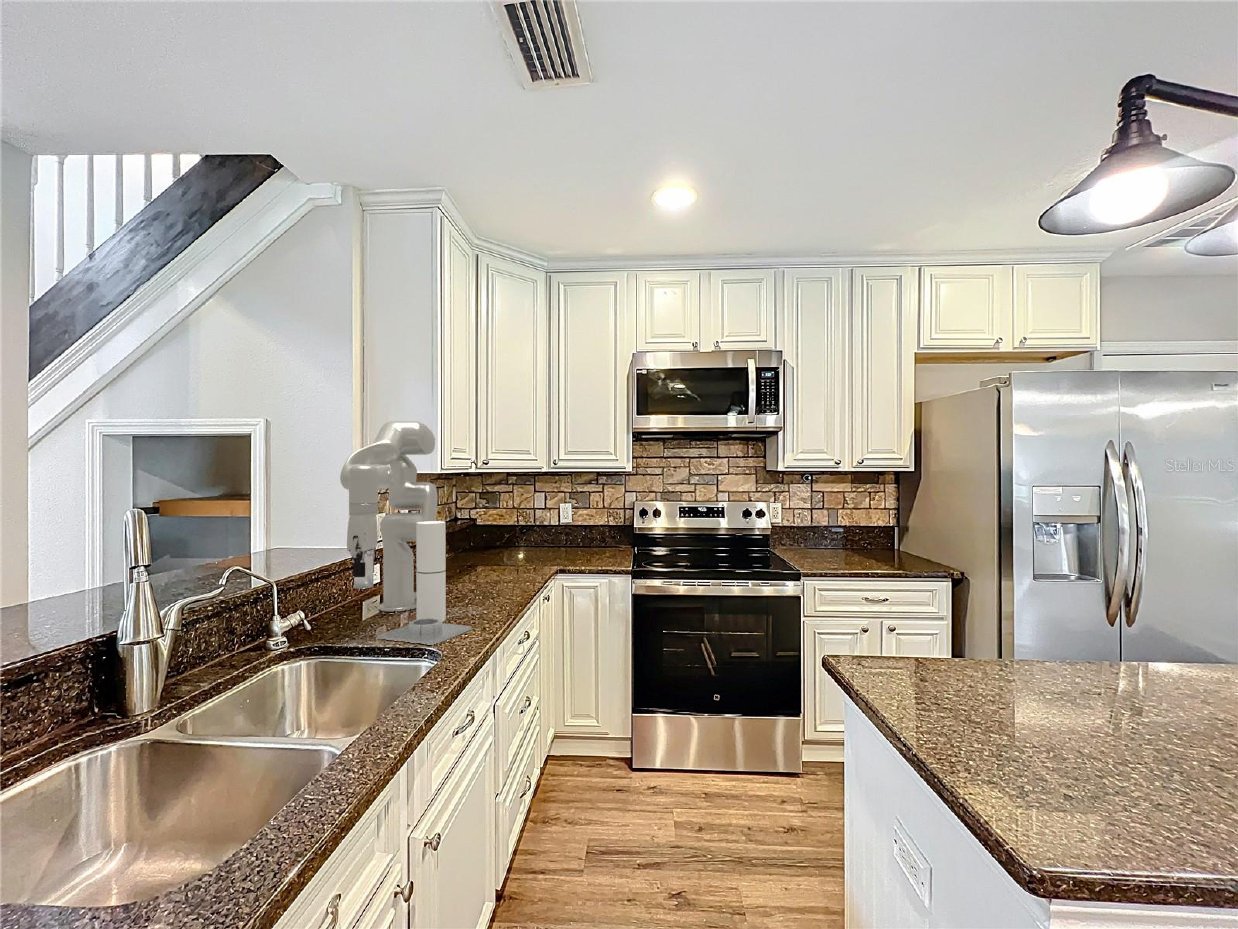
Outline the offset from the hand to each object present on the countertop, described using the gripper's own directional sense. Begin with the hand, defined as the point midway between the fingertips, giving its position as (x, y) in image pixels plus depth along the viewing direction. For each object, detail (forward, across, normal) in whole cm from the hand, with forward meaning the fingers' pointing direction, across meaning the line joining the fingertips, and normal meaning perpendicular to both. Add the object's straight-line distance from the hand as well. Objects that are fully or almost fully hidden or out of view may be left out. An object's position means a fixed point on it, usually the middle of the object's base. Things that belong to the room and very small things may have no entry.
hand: (363, 574), depth 179 cm
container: (+18, -18, +13) cm, 29 cm away
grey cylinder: (+4, 0, 0) cm, 4 cm away
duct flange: (+17, -2, +17) cm, 24 cm away
